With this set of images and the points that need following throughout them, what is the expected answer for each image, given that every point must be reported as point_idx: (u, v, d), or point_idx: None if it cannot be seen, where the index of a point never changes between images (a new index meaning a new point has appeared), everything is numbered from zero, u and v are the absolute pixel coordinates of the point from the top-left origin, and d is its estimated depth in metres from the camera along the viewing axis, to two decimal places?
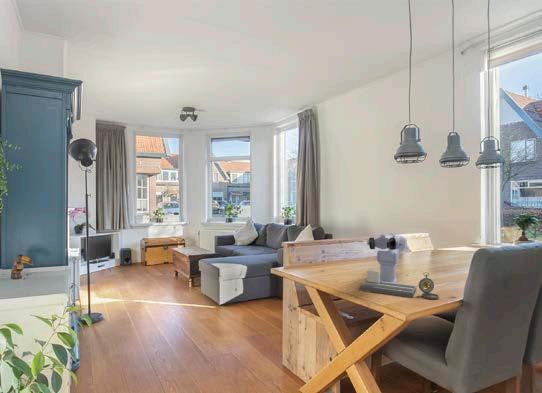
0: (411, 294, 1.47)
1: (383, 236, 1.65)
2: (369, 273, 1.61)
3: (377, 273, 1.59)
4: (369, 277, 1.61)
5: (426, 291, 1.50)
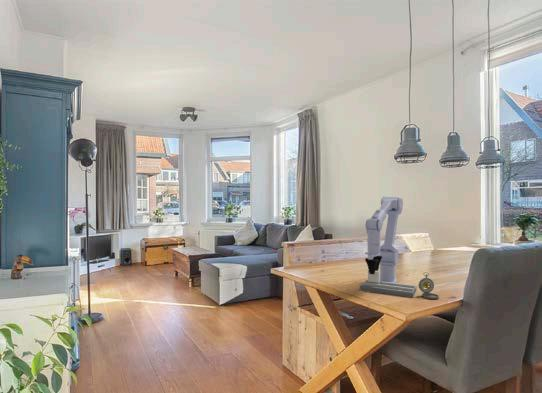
0: (411, 294, 1.47)
1: None
2: None
3: (377, 273, 1.59)
4: (369, 277, 1.61)
5: (426, 291, 1.50)
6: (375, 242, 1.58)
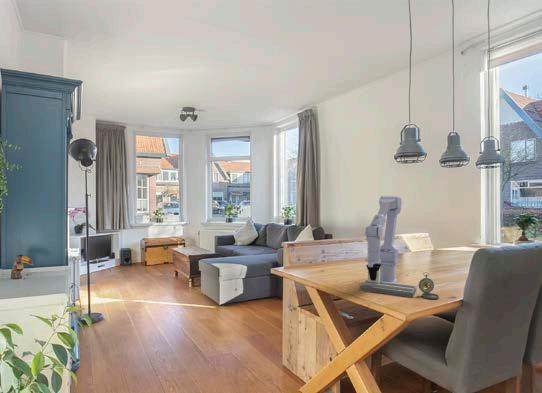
0: (411, 294, 1.47)
1: None
2: None
3: (377, 273, 1.59)
4: (369, 277, 1.61)
5: (426, 291, 1.50)
6: (375, 249, 1.58)
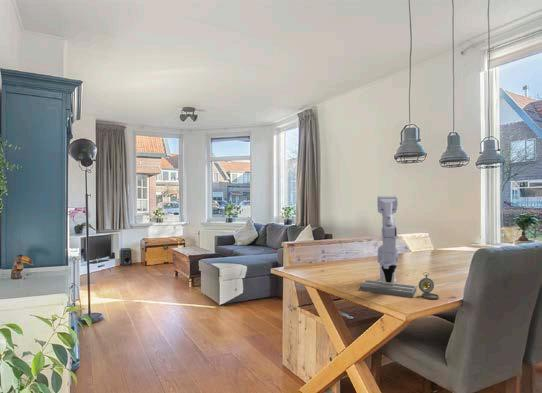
0: (411, 294, 1.47)
1: None
2: (384, 275, 1.57)
3: (392, 275, 1.56)
4: (384, 279, 1.57)
5: (426, 291, 1.50)
6: (393, 250, 1.55)
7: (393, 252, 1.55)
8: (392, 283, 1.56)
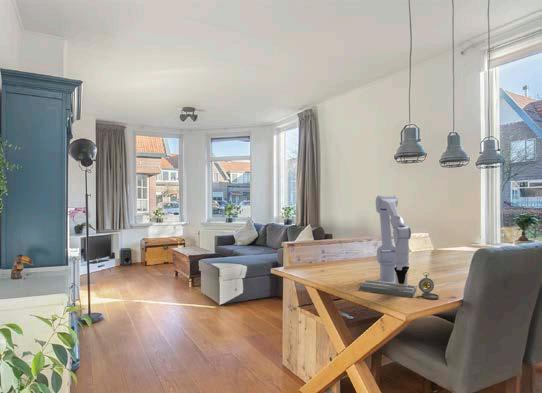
0: (411, 294, 1.47)
1: (394, 263, 1.56)
2: None
3: (405, 276, 1.53)
4: (397, 280, 1.55)
5: (426, 291, 1.50)
6: (407, 251, 1.53)
7: (407, 253, 1.53)
8: (405, 285, 1.53)
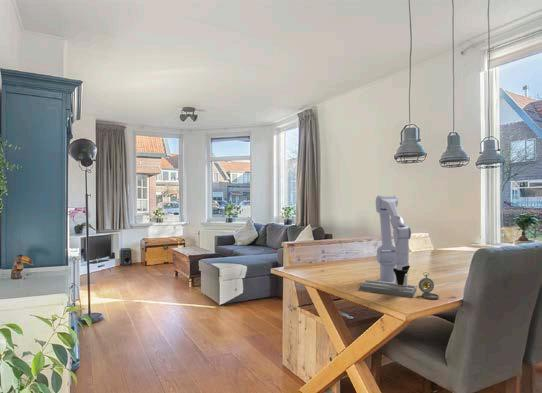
0: (411, 294, 1.47)
1: (394, 263, 1.56)
2: None
3: (405, 276, 1.53)
4: None
5: (426, 291, 1.50)
6: (407, 251, 1.53)
7: (407, 253, 1.53)
8: (405, 285, 1.53)
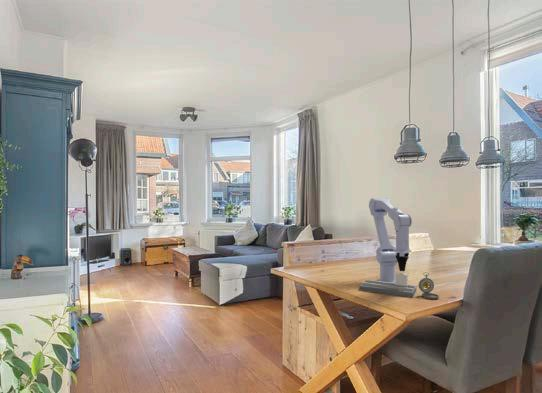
0: (411, 294, 1.47)
1: (395, 251, 1.60)
2: (397, 276, 1.55)
3: (405, 276, 1.53)
4: (397, 280, 1.55)
5: (426, 291, 1.50)
6: (408, 238, 1.57)
7: (408, 240, 1.57)
8: (405, 285, 1.53)
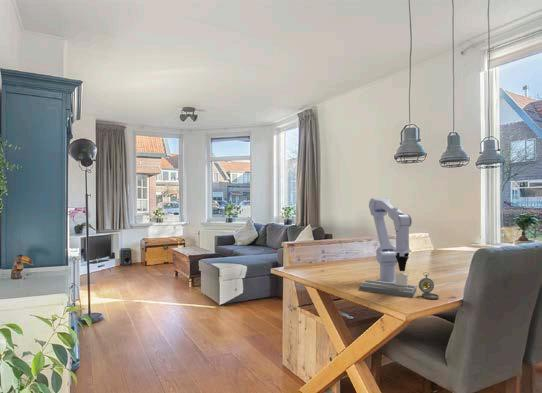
0: (411, 294, 1.47)
1: (395, 251, 1.60)
2: (397, 276, 1.55)
3: (405, 276, 1.53)
4: (397, 280, 1.55)
5: (426, 291, 1.50)
6: (408, 238, 1.57)
7: (408, 240, 1.57)
8: (405, 285, 1.53)
